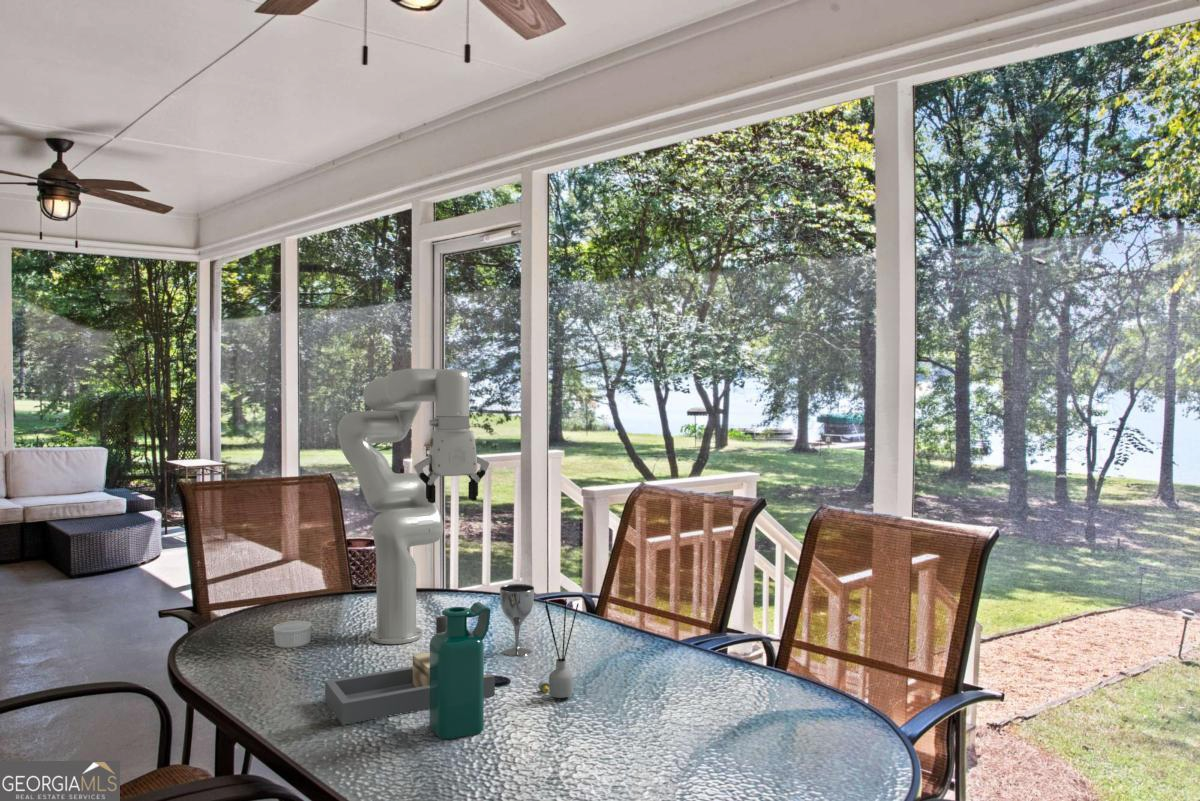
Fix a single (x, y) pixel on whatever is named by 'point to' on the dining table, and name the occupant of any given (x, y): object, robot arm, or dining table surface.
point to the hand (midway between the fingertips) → (452, 501)
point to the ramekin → (292, 634)
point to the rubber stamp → (426, 658)
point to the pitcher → (458, 674)
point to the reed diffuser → (559, 668)
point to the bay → (381, 695)
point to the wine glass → (517, 611)
